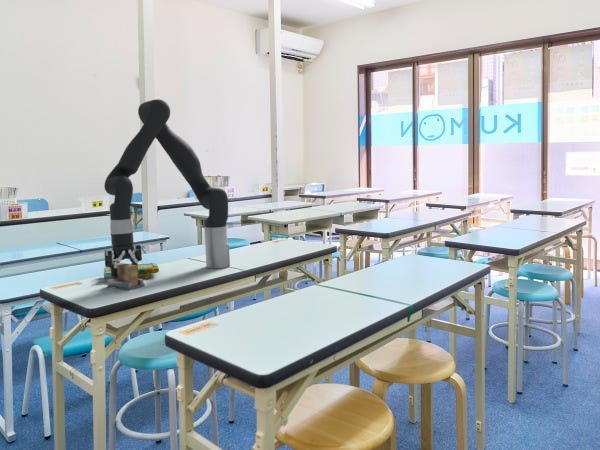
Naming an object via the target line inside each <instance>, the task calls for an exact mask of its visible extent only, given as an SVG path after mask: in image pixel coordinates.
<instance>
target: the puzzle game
mask: <svg viewBox="0 0 600 450" xmlns="http://www.w3.org/2000/svg"><path fill="white" fill-rule="evenodd" d="M137 265H138V272H137V273H138V279H149V278H150V276H151V274H157V273H159V272H160V268H159V267H158V265H157V263H156V262H151V263H149V262H148V263H139V264H138V263H137ZM103 278H104V279H105V280H106V282H107V283H108V279H113V277H112V276H111V268H110V267H106V266H105V267H104V268H103Z"/></svg>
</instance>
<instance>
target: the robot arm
mask: <svg viewBox="0 0 600 450" xmlns="http://www.w3.org/2000/svg"><path fill="white" fill-rule="evenodd" d="M137 111H138V112H137V113H138V118H139V119H140V121H141V123H143V125H142V126H141V128H140V130H139V131H138V132H137V134H136V135H135V136H134V137H133V138H132V139H131V141H130V142H129V143H128V144H127V146H126V147H125V148H124V151H123V153H122V155H121V156H120V159H119V161H118V163H117V164H116V165H115V167H113V169H112V170H111V171H110V172H109V174H108V175H107V177H106V179H105V180H104V185H103V186H104V190H105V192H106V193H107V194H108V195H111V196H114V201H113V203H111V204H110V205H109V218H110V223H109V224H110V225H109V227H110V228H109V229H110V241H111V246H112V249H110V250H109V249H106V250H104V266H105V267H110V268H111V276H112V277H113V278H115V279H116V278H118V271H117V268H116V267H117V265H118V263H121V262H122V261H125V260H129V261H130V264H132V265H137V264H138V263H139V262H140V261H141V262H142V260H143V258H142V257H143V255H142V247H141V244H134V242H135V241H134V234H133V233H134V232H133V230H134V228H133V221H132V215H131V214H132V213H131V206H132V199H133V193H134V186H133V185H134V184H133V183H132V182H133V181H132V180H131V179H130V177H131V176H133V175H135V174H136V173H137V172H138V170H139V169H140V166H141V164H142V162H143V161H144V158H145V157H146V154H147V153H148V150H149V149H150V147H151V145H152V143H154V140H155V139H156V140H157V141H158V143H159V144H160V146H161V147H162V150H164V151H165V153H166V155H167V156H168V157H169V159H170V160H171V161H172V163H173V164H174V166H175V167H176V168H177V169H178V171H179V172H180V174H181V175H182V176H183V177H184V179H185V182H187V183H188V185H189V186H190V188H191V189H192V192H193V193H194V196H196V198H197V201H198V202H199V204H200V205H201V206H202V207H203V208H204V209H206V210H208V216H207V218H205V219H204V222H203V229H204V243H205V244H204V245H205V248H204V249H205V264H206V268H207V269H224V268H228V267H230V266H231V260H230V259H231V257H230V256H231V255H230V244H229V243H228V228H227V227H228V226H227V224H228V223H227V222H228V220H229V198H228V195H227V192H226V191H225V190H224V189H223V188H220V187H218V188H217V187H212V186H211V185H210V184H209V182H208V181H207V180H206V178H205V177H204V175H203V171H202V170H203V169H202V166H201V162H200V160H199V157H198V155H197V153H195V151H194V149H193V148H192V146H191V145H190V144H189V143H188V142H186V140H185V139H183V138H182V137H180V135H178V134H177V133H175V132H174V131H173V130H172V129H171V127H170V126H169V125H168V123H167V122H168V121H169V119H170V116H171V108H170V104H168V102H166V101H165V100H163V99H161V98H160V99H159V98H158V99H151V100H148V101H145V102H142V103H140V105H139V106H138V110H137ZM133 252H134V253H133ZM137 272H138V265H137Z"/></svg>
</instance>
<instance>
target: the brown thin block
mask: <svg viewBox="0 0 600 450" xmlns="http://www.w3.org/2000/svg"><path fill="white" fill-rule="evenodd" d="M116 268H117V271H118V278H116V279H115V278H113V279H115V280H120V281H126V282H131V283H132V286H134V285H137V284H138V273H137V265H132V264H131V263H123V262H120V263H118V265H117V267H116Z"/></svg>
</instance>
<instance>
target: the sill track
mask: <svg viewBox="0 0 600 450" xmlns="http://www.w3.org/2000/svg"><path fill="white" fill-rule="evenodd" d="M106 286H108V288H114V289H119V290H124V291H128V292H129V291H132V290H137V289H138V288H143V287H145V283H144V278H142V279H138V284H137V285H134V286H132V283H131V282H126V281H120V280H115V279H108V282H107V285H106Z"/></svg>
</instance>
